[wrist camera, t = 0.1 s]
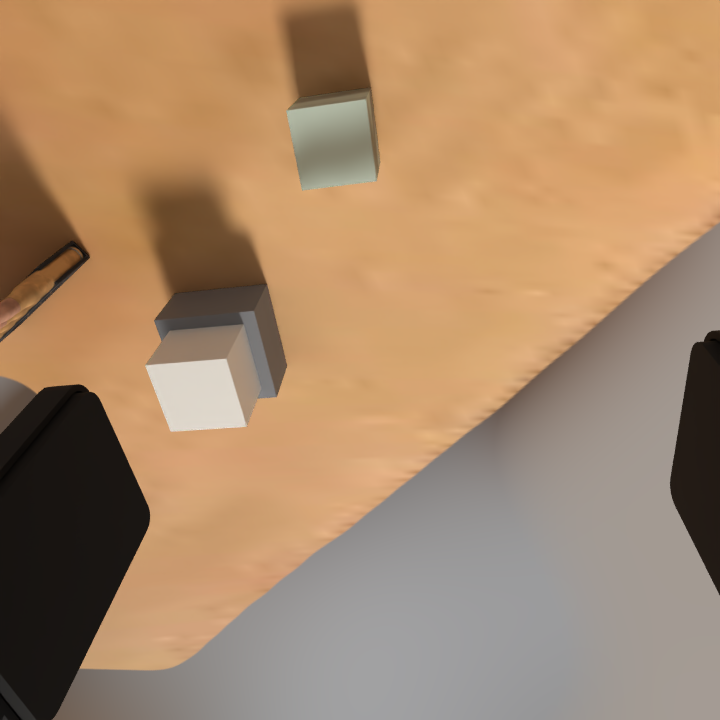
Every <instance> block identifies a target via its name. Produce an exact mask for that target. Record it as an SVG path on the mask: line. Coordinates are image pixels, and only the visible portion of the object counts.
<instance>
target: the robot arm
mask: <svg viewBox="0 0 720 720" xmlns="http://www.w3.org/2000/svg"><path fill="white" fill-rule="evenodd" d="M670 489H671V495H672V499H673V501H674V504H675V506H676V509H677V511H678V513H679V514H680V517H681V519H682V520H683V523H684V525H685V526H686V529H687V531H688V533H689V535H690V536H691V539H692V541H693V543H694V545H695V547H696V548H697V550H698V553H699V555H700V557H701V559H702V561H703V563H704V564H705V566H706V569H707V571H708V573H709V575H710V577H711V579H712V581H713V583H714V585H715V587H716V589H717V591H718V593H719V595H720V330H718V331H711V332H709V333H708V334H707V336H706V337H705V339H704V342H697V343H695V344H694V345H693V347H692V351H691V355H690V362H689V367H688V374H687V380H686V386H685V392H684V399H683V405H682V412H681V417H680V424H679V429H678V435H677V441H676V448H675V454H674V460H673V466H672V472H671V479H670ZM149 522H150V511H149V507H148V504H147V502H146V500H145V498H144V496H143V493H142V491H141V489H140V487H139V485H138V482H137V480H136V478H135V476H134V474H133V471H132V469H131V467H130V465H129V463H128V460H127V458H126V456H125V454H124V452H123V449H122V447H121V445H120V443H119V441H118V438H117V436H116V434H115V432H114V430H113V427H112V425H111V423H110V421H109V419H108V417H107V414H106V412H105V410H104V408H103V406H102V403H101V401H100V399H99V398H98V396H97V395H96V394H95V393H92V392H89V390H88V389H87V388H86V387H84V386H83V385H79V384H78V385H66V386H54V387H47V388H44V389H43V390H41V391H40V392H39V393H38V394H37V395H36V396H35V397H34V398H33V400H32V401H31V402H30V403H29V404H28V405H27V406H26V407H25V408H24V409H23V411H21V413H20V414H19V415H18V416H17V417H16V418H15V419H14V420H13V421H12V422H11V423H10V425H9V426H8V427H7V428H6V429H5V430H4V431H3V432H2V433H1V434H0V720H52V719H53V718H54V717H55V715H56V714H57V712H58V710H59V708H60V706H61V704H62V702H63V700H64V698H65V696H66V694H67V692H68V690H69V688H70V686H71V684H72V682H73V680H74V678H75V676H76V674H77V671H78V670H79V668H80V666H81V664H82V662H83V660H84V658H85V656H86V653H87V651H88V649H89V647H90V645H91V643H92V641H93V639H94V637H95V635H96V633H97V631H98V629H99V627H100V625H101V623H102V621H103V619H104V617H105V615H106V613H107V611H108V609H109V607H110V605H111V603H112V601H113V599H114V596H115V594H116V592H117V590H118V588H119V586H120V584H121V582H122V580H123V578H124V576H125V574H126V572H127V570H128V568H129V566H130V564H131V562H132V560H133V558H134V556H135V554H136V552H137V550H138V548H139V546H140V544H141V542H142V540H143V537H144V535H145V533H146V531H147V529H148V526H149Z"/></svg>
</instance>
